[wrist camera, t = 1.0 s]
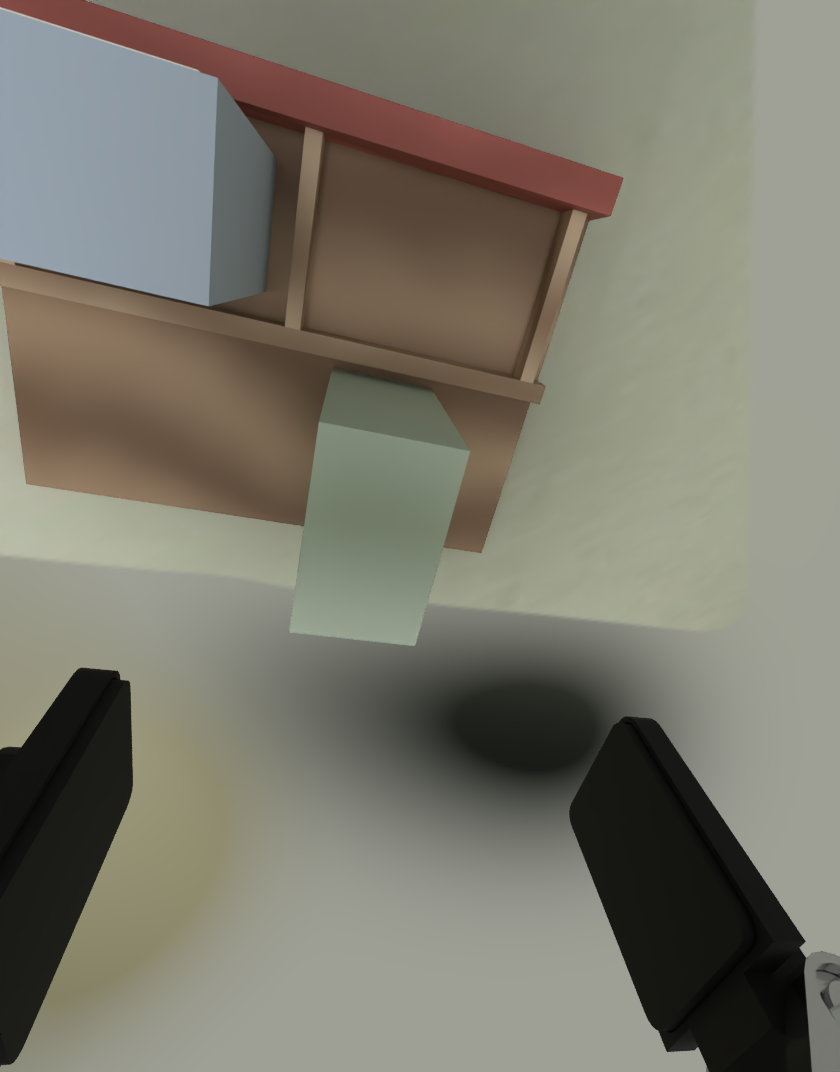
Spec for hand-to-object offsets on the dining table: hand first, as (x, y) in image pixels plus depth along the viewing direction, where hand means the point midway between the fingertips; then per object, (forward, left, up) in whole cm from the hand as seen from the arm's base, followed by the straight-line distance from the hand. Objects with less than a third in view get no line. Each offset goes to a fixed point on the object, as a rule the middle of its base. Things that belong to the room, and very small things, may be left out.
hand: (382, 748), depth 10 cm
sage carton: (0, 0, -17) cm, 17 cm away
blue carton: (-9, -9, -17) cm, 21 cm away
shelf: (-5, -4, -17) cm, 18 cm away
